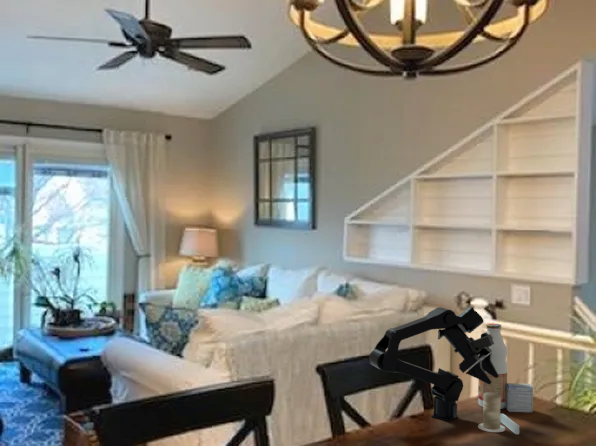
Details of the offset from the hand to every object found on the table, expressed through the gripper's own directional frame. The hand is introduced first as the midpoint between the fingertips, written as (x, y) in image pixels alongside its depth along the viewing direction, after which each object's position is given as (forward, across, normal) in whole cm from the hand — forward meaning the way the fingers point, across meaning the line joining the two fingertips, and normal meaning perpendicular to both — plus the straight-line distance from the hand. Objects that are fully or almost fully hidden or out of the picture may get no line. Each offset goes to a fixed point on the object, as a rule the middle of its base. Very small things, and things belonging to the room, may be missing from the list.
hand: (494, 380), depth 209 cm
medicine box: (+13, +19, +7) cm, 24 cm away
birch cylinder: (+10, -5, +9) cm, 14 cm away
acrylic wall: (+13, -2, +6) cm, 15 cm away
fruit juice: (+6, +19, +13) cm, 24 cm away
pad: (+10, -5, +9) cm, 14 cm away
